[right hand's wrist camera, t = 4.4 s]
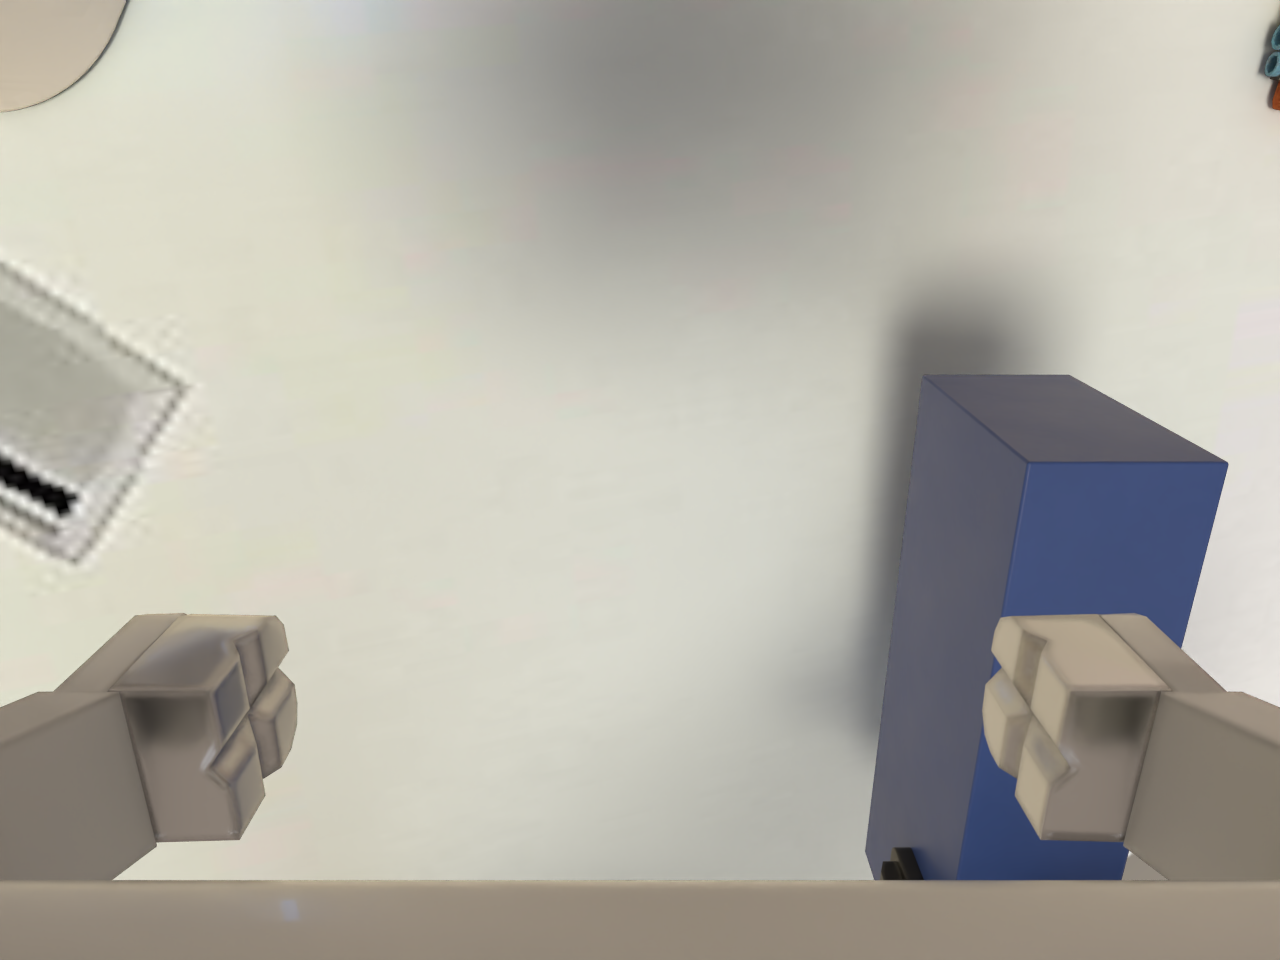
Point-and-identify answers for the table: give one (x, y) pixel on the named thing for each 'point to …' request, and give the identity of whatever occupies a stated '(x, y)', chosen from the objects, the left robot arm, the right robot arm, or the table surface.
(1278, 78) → the toy gun
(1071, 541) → the bar
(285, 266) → the table surface
